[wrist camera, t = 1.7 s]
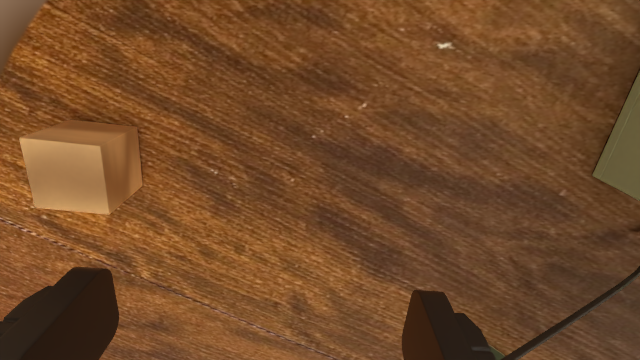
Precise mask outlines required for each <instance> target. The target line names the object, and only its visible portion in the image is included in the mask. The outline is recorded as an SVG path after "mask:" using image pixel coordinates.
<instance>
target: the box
mask: <svg viewBox="0 0 640 360" xmlns="http://www.w3.org/2000/svg"><path fill="white" fill-rule="evenodd" d="M592 176H594V177H596V178H597V179H599V180H601V181H603V182H605V183H607V184H609V185H611V186H612V187H614V188H616V189H618V190H620V191H622V192H624V193H626V194H628V195H630V196H632V197H634V198H635V199H637V200H639V201H640V71H639V73H638V75H637V77H636V80H635V82H634V84H633V86H632V88H631V91H630V93H629V95H628V97H627V100H626V102H625V104H624V106H623V108H622V111H621V113H620V115H619V117H618V119H617V122H616V124H615V126H614V128H613V130H612V133H611V135H610V137H609V139H608V142H607V144H606V146H605V148H604V150H603V153H602V155H601V157H600V159H599V161H598V164H597V166H596V168H595V170H594V172H593V175H592Z"/></svg>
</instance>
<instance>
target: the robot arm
mask: <svg viewBox="0 0 640 360" xmlns="http://www.w3.org/2000/svg"><path fill="white" fill-rule="evenodd" d="M118 322H119V311H118V306H117V300H116V295H115V289H114V284H113V278H112V274H111V272H110V270H108V269H103V268H88V267H75V268H72V269H71V270H70V271H69V272H68V273H66V274H65V275H64V276H63V277H62V278H61V279H60V280H59V281H58V282H57V283H56V284H55V285H54V286H47V287H45V288H44V289H42V290H40V291H38V292H37V293H35V294H33V295H32V296H30V297H28V298H26V299H25V300H23V301H22V302H21V303H20V304H19V305H18V306H16V307H15V308H14V309H13V310H12V311H11V312H10V313H9V314H8V315H7V316H5V317H4V320H3V322H2V321H0V360H99V358H100V357H101V355H102V354H103V352H104V351H105V349H106V348H107V346H108V345H109V343H110V342H111V340H112V339H113V337H114V335H115V333H116V330H117V327H118ZM490 349H491V348H490V346H489V345H488V343H487V341H486V339H485V337H484V335H483V334H482V332H481V330H480V329H479V328H478V327H477V326H476V325H475V324H474V323H473V322H472V321H471V320H470V319H469V318H468V317H467V316H466V315H465V314H464V313H454V311H453V309H452V307H451V305H450V303H449V300H448V298H447V296H446V295H445V293H443V292H438V291H423V290H414V291H413V293H412V295H411V299H410V303H409V308H408V312H407V316H406V320H405V324H404V329H403V334H402V351H403V357H404V360H497V359H496V357H495V356H494V354H493V352H491V351H490Z"/></svg>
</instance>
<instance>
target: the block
mask: <svg viewBox="0 0 640 360" xmlns="http://www.w3.org/2000/svg"><path fill="white" fill-rule="evenodd" d="M19 140H20V144H21V149H22V153H23V157H24V162H25V166H26V170H27V175H28V179H29V184H30V188H31V192H32V197H33V201H34V205H35V208H44V209H55V210H65V211H76V212H86V213H96V214H107V215H109V214H111V213H112V212H113V211H114V210H115V209H116V208H118V207H119V206H120V205H121V204H122V203H123V202H125V201H126V200H127V199H128V198H129V197H130V196H131V195H133V194H134V193H135V192H136V191H137V190H138V189H139V188H141V187H142V186H143V183H142V172H141V161H140V150H139V139H138V128H137V127H135V126H126V125H117V124H107V123H98V122H89V121H80V120H68V121H65V122H62V123H60V124H57V125H54V126H51V127H48V128H45V129H42V130H40V131H37V132H34V133H31V134H28V135H25V136H22V137H20V138H19Z"/></svg>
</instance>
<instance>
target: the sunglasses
mask: <svg viewBox="0 0 640 360" xmlns="http://www.w3.org/2000/svg"><path fill="white" fill-rule="evenodd" d="M639 275H640V266H639V267H638V269H637V270H636V271H635V272H634V273H632V274H631V275H630V276H628V277H627V278H626V279H625V280H623V281H622V282H621V283H619V284H618V285H616V286H615V287H613V288H612V289H610V290H609V291H607V292H606V293H604V294H603V295H601V296H600V297H598V298H596V299H595V300H593V301H592V302H590V303H589V304H587V305H586V306H584V307H583V308H581V309H580V310H578V311H577V312H575V313H574V314H572V315H571V316H569V317H567V318H566V319H564V320H563V321H561V322H559V323H558V324H556V325H555V326H553V327H552V328H550V329H548V330H547V331H545V332H544V333H542V334H540V335H539V336H537V337H536V338H534V339H533V340H531V341H529V342H528V343H526V344H525V345H523V346H521V347H520V348H518V349H517V350H515V351H513V352H512V353H510V354H509V355H507V356H505V355H504V354H502V353H501V352H500V351H498V350H497V349H495V348H494V347H492V346H491V345H489V344H488V345H489V346H490V348H491V349H490V351H491V352H493V354H494V356H495V357H496V359H497V360H518V359H520V358H521V357H523V356H524V355H526V354H527V353H529V352H530V351H532V350H533V349H535V348H536V347H538V346H539V345H541V344H542V343H544V342H545V341H547V340H548V339H550V338H551V337H553V336H554V335H556V334H557V333H559V332H560V331H562V330H563V329H565V328H566V327H568V326H569V325H571V324H572V323H574V322H575V321H577V320H578V319H580V318H581V317H583V316H584V315H586V314H587V313H589V312H590V311H592V310H593V309H595V308H596V307H598V306H599V305H601V304H602V303H603V302H605V301H606V300H608V299H609V298H611V297H612V296H614V295H615V294H616V293H618V292H619V291H621V290H622V289H623V288H625V287H626V286H627V285H629V284H630V283H631V282H632V281H633V280H635V279H636V278H637V277H638V276H639Z"/></svg>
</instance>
